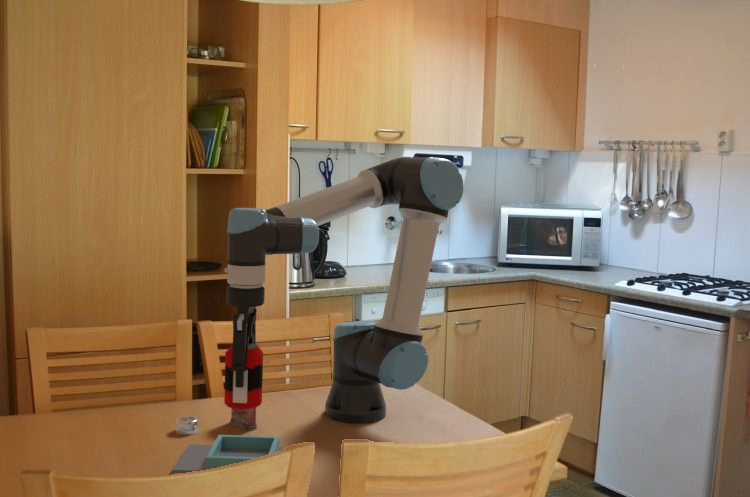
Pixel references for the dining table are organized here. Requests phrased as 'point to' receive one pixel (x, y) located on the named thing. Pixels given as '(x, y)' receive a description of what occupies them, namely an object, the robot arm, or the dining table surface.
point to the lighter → (244, 418)
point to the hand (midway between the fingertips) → (243, 396)
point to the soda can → (253, 378)
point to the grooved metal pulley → (187, 425)
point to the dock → (226, 452)
